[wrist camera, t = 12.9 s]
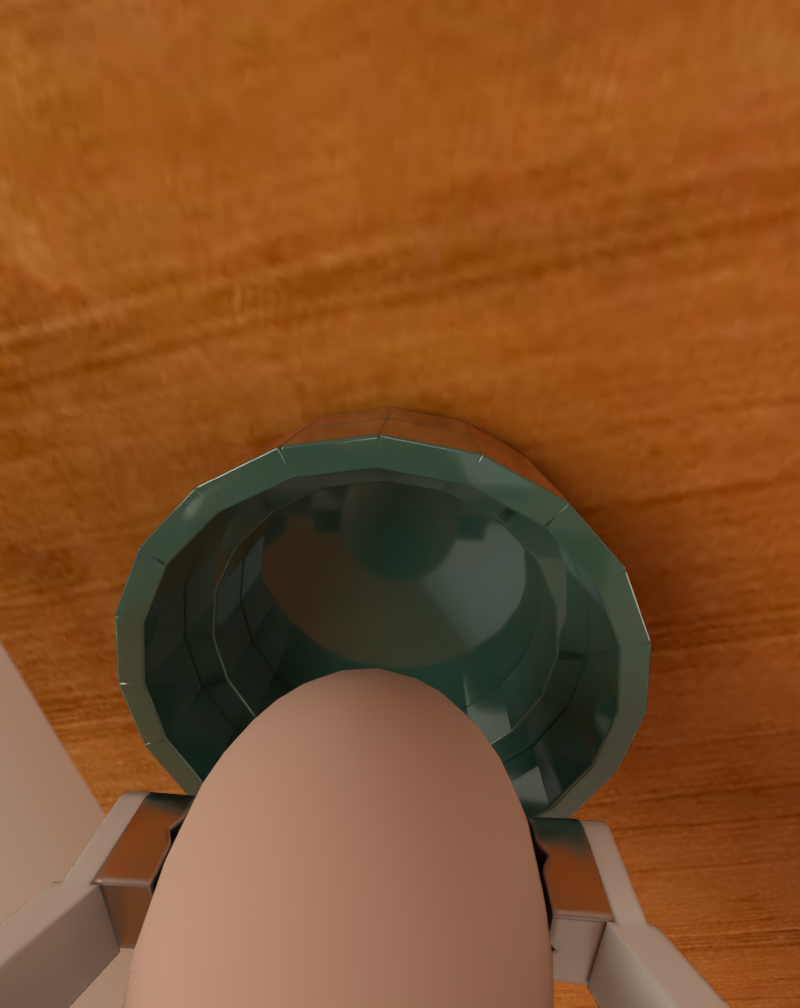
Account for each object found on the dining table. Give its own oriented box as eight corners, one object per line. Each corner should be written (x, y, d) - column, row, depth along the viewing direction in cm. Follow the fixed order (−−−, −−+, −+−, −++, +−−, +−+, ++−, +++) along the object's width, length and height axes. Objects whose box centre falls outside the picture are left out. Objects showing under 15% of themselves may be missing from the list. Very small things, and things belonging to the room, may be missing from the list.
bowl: (127, 587, 17) (16, 677, 12) (395, 306, 13) (381, 285, 9) (384, 791, 20) (374, 925, 16) (662, 613, 16) (757, 719, 12)
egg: (444, 816, 13) (487, 1671, 5) (234, 753, 13) (-147, 1581, 4) (542, 649, 11) (959, 1692, 2) (292, 565, 11) (-266, 1511, 2)
